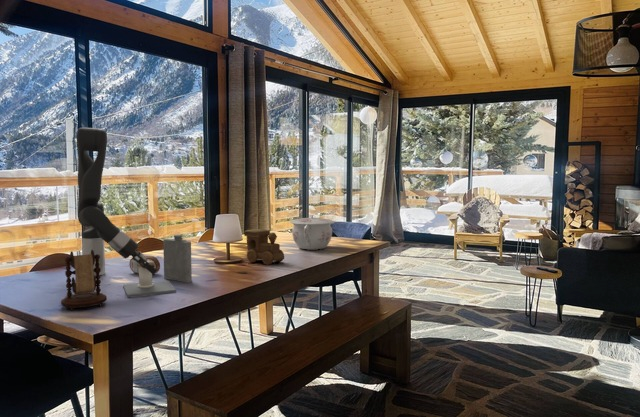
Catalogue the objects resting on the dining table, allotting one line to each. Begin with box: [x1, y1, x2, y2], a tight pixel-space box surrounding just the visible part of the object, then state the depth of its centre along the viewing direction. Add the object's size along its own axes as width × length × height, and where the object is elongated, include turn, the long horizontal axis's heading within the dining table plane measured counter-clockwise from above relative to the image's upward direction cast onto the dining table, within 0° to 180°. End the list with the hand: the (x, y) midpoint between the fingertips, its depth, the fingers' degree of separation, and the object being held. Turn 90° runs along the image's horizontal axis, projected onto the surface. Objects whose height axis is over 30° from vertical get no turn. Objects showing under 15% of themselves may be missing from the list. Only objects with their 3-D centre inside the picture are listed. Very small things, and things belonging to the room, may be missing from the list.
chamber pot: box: [289, 214, 335, 251], centre depth 299 cm, size 28×28×21 cm
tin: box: [129, 255, 161, 275], centre depth 227 cm, size 15×3×8 cm, turn 74°
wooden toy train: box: [243, 228, 285, 266], centre depth 255 cm, size 20×11×17 cm, turn 56°
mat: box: [122, 279, 177, 298], centre depth 198 cm, size 18×18×1 cm
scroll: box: [60, 250, 108, 312], centre depth 174 cm, size 15×15×20 cm
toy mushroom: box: [137, 261, 154, 288], centre depth 199 cm, size 6×6×10 cm
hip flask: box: [162, 234, 193, 284], centre depth 215 cm, size 16×4×20 cm, turn 58°
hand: (153, 270), depth 200 cm, fingers open, 8 cm apart
